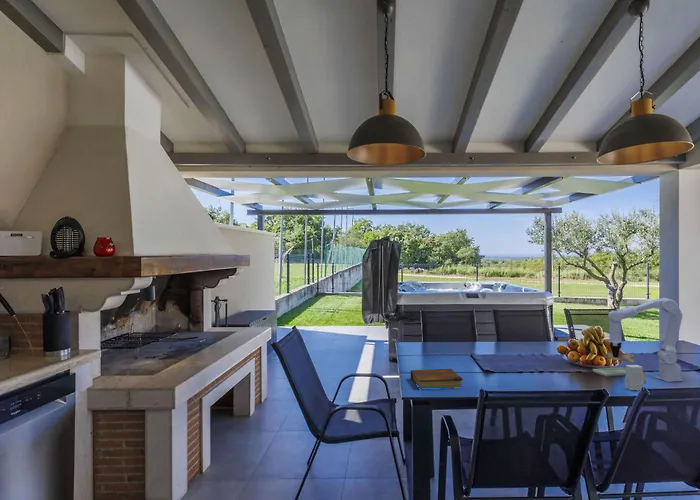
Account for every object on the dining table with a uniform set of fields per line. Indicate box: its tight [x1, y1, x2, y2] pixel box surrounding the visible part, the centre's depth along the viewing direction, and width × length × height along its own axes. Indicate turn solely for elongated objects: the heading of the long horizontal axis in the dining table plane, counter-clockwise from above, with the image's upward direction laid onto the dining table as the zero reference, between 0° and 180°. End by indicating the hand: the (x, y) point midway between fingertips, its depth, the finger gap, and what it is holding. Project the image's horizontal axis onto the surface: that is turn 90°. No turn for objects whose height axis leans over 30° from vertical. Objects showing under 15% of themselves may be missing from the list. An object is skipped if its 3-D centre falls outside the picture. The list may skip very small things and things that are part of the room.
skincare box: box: [625, 364, 644, 392], centre depth 200 cm, size 6×4×12 cm
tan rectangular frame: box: [603, 351, 635, 363], centre depth 224 cm, size 14×5×3 cm, turn 54°
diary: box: [410, 368, 464, 389], centre depth 213 cm, size 23×19×6 cm
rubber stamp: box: [643, 371, 647, 384], centre depth 212 cm, size 3×4×5 cm, turn 8°
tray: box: [592, 367, 626, 378], centre depth 228 cm, size 20×10×2 cm, turn 98°
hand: (615, 356), depth 225 cm, fingers closed on tan rectangular frame, 5 cm apart
